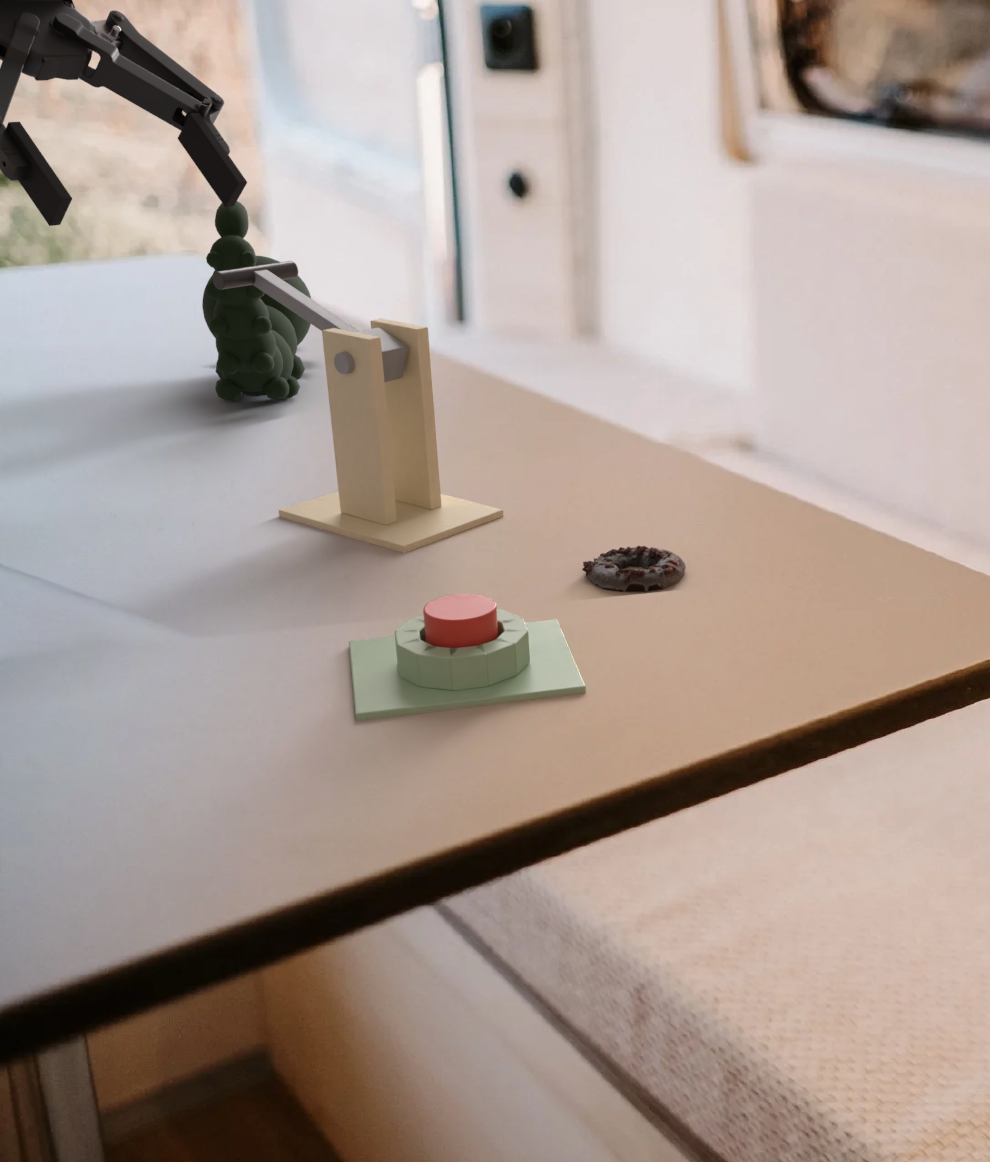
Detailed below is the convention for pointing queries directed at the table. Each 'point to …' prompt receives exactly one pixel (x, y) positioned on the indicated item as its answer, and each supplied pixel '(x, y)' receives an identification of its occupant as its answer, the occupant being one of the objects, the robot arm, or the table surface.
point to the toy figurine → (250, 320)
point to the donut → (659, 573)
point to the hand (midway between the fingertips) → (153, 203)
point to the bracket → (385, 447)
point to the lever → (309, 307)
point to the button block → (461, 669)
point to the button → (460, 621)
